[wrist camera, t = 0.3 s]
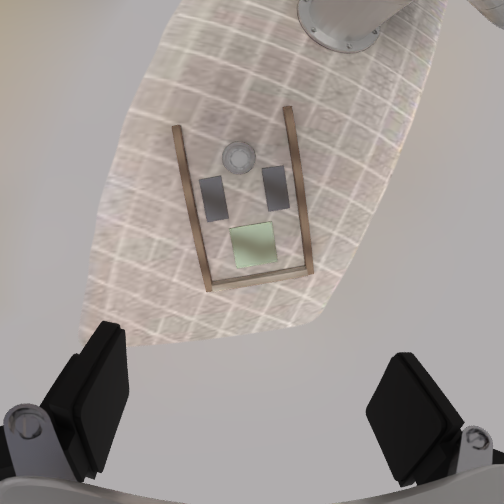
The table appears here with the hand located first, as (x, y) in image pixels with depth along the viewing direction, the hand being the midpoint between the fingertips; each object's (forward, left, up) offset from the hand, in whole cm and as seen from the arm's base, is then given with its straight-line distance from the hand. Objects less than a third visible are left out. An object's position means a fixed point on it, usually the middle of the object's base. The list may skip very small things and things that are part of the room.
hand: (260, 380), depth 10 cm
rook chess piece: (-6, +1, -35) cm, 35 cm away
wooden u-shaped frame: (0, +1, -35) cm, 35 cm away
